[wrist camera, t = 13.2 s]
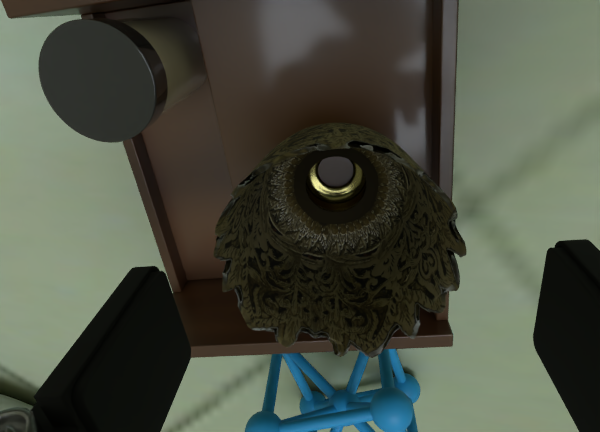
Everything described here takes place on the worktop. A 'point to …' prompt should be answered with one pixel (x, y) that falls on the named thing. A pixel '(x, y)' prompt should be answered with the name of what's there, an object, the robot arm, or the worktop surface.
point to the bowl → (12, 403)
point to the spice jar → (119, 73)
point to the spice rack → (280, 126)
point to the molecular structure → (342, 399)
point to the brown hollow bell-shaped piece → (339, 242)
